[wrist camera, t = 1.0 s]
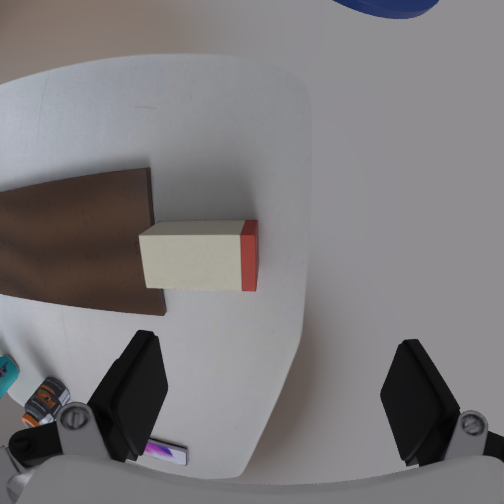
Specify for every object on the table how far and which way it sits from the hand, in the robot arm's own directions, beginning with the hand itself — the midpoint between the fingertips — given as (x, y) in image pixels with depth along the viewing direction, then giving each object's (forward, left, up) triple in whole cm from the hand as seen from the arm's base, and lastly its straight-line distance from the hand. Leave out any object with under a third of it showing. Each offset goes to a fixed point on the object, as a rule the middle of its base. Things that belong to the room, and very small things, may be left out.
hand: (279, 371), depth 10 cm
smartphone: (+41, -22, -19) cm, 50 cm away
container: (+1, -7, -19) cm, 20 cm away
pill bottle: (+29, -39, -19) cm, 52 cm away
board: (+1, -32, -19) cm, 37 cm away
